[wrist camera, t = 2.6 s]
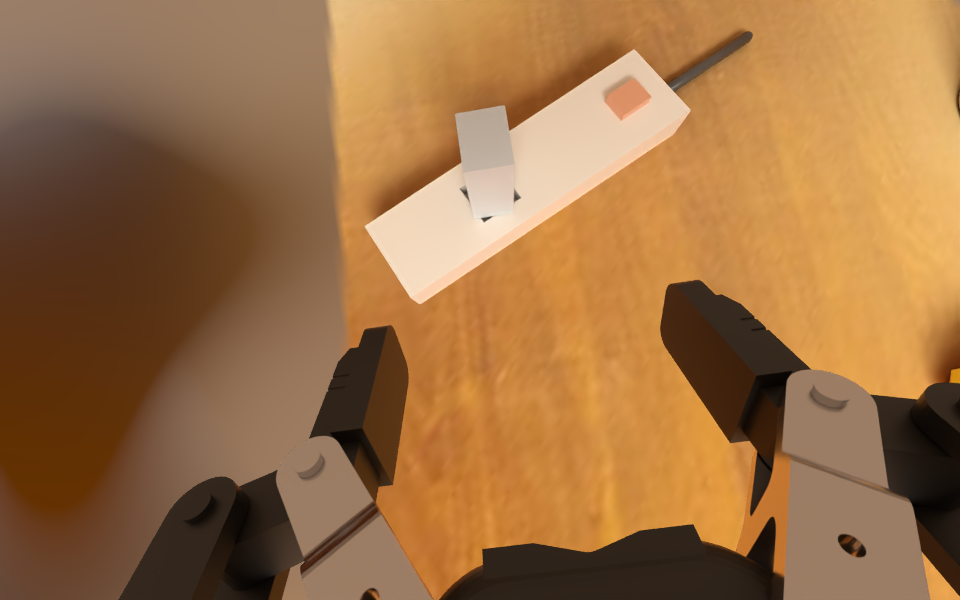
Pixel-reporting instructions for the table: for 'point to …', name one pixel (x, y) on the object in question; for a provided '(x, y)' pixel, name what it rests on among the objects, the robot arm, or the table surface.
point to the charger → (487, 160)
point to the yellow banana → (955, 376)
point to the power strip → (537, 171)
